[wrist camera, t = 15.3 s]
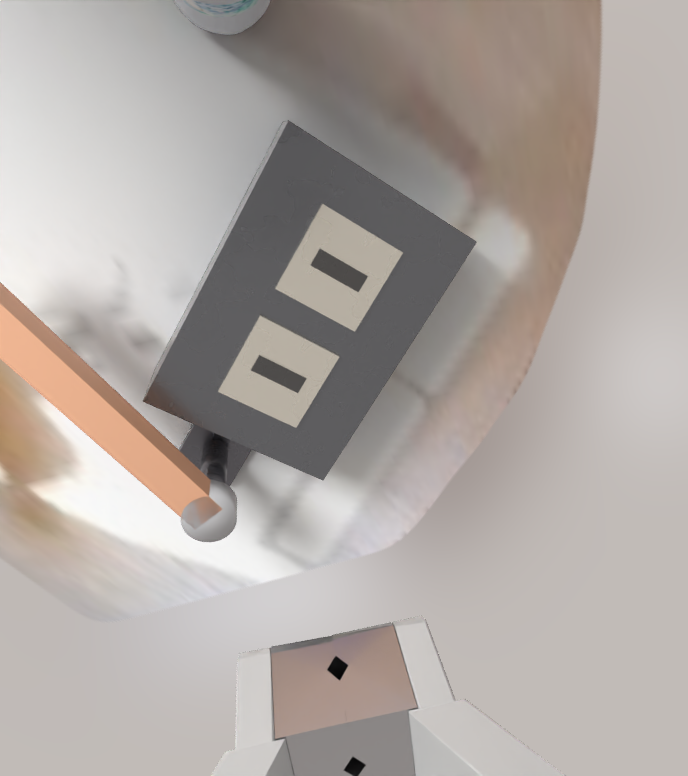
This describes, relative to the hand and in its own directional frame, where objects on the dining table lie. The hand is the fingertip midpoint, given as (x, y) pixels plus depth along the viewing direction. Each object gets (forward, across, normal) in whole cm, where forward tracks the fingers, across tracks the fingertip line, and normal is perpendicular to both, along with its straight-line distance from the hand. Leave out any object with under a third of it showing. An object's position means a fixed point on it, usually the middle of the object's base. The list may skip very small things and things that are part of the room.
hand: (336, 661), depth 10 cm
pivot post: (+37, +7, +15) cm, 41 cm away
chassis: (+37, -2, +4) cm, 37 cm away
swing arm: (+29, +12, +6) cm, 32 cm away
